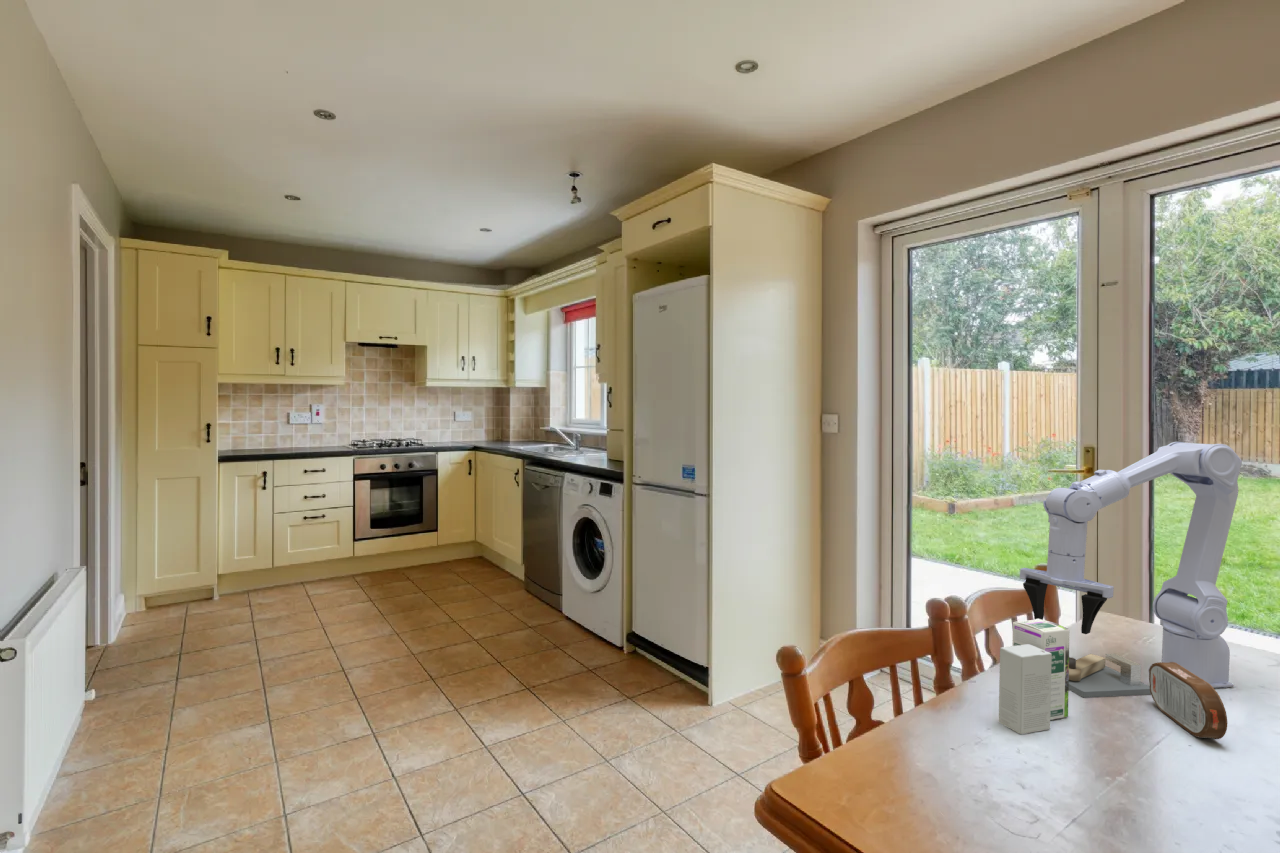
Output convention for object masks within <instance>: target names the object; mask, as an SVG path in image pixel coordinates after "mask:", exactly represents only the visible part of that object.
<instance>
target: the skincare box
mask: <svg viewBox="0 0 1280 853" xmlns="http://www.w3.org/2000/svg"><path fill="white" fill-rule="evenodd" d="M1051 664H1052V654H1051V653H1049V652H1047V651H1045V650H1042V649H1040V648H1037V647H1035V646H1032V645H1030V644H1025V645H1018V646H1012V645H1010V646H1003V647H1001V646H1000V648H999V682H998V684H999V685H998V688H999V689H998V692H999V693H998V723H999V724H1001V725H1003V726H1005V727H1007V728H1009V729H1010V730H1011V731H1013V732H1015V733H1018V734H1019V735H1025V734H1031V733H1035V732H1042V731H1046V730H1047V731H1048V730H1050V729H1051V720H1050V712H1051Z"/></svg>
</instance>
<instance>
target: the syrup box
mask: <svg viewBox="0 0 1280 853" xmlns="http://www.w3.org/2000/svg"><path fill="white" fill-rule="evenodd" d="M1025 644H1030V645H1032V646H1035V647H1037V648H1040V649H1042V650H1045V651H1047V652H1049V653H1051V654H1052V664H1051V712H1050V721H1051V720H1052V721H1053V720H1056V719H1062V718H1065V719H1066V718H1068V717H1069V689H1068V687H1069V657H1070V629H1069V628H1067V627H1065V626H1063V625H1060V624H1059V623H1056V622H1053V621H1049V620H1045V619H1043V620H1041V619H1031V620H1030V619H1028V620H1020V621H1013V622H1012V645H1011V646H1018V645H1025Z"/></svg>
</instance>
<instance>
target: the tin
mask: <svg viewBox="0 0 1280 853" xmlns="http://www.w3.org/2000/svg"><path fill="white" fill-rule="evenodd" d="M1148 681H1149V686H1150V692H1151V698H1152V700H1153V702H1154V704H1155V705H1156V706H1157V709H1159V710H1160V711H1161V712H1162V713H1163V714H1164V715H1166V716H1167V717H1169V718H1170V719H1171V720H1172V721H1173V722H1174V723H1176V724H1177V725H1178V726H1180V727H1181V728H1182V729H1184V730H1185V731H1186V732H1188V733H1189V734H1190V735H1192V736H1194V737H1196V738H1201V739H1213V740H1220V739H1223V738H1224V737H1225V735H1226V733H1227V730H1228V716H1227V711H1226V708H1225V706H1224V705H1225V704H1224V703H1223V700H1222V698H1221V697H1220V694H1219V693H1218V691H1217V690H1216V689H1215V688H1213V687H1212V686H1211V685H1210V684H1209V683H1208V682H1206V681H1204V680H1203V679H1201V678H1200V677H1198V676H1196V675H1195V674H1193V673H1191V672H1190V671H1188V670H1187V669H1185V668H1184V667H1182V666H1180V665H1179V664H1177V663H1175V662H1169V663H1164V662H1162V661H1160V662H1158V661H1157V662H1154V663H1152V664H1151V665H1150V667H1149V668H1148Z"/></svg>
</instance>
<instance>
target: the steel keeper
mask: <svg viewBox="0 0 1280 853" xmlns="http://www.w3.org/2000/svg"><path fill="white" fill-rule="evenodd" d="M1104 656H1105V657H1104V658H1105V661H1108V662H1110V663H1112V664H1115V665H1117V666H1120V673H1121V675H1120V681H1121V682H1123V683H1125V684H1127V685H1129V686H1140V683H1141V678H1142V677H1141V676H1142V664H1140V663H1138V662H1135V661H1133V660H1131V659H1128V658H1126V657H1124V656H1122V655H1119V654H1117V653H1105V655H1104Z"/></svg>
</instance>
